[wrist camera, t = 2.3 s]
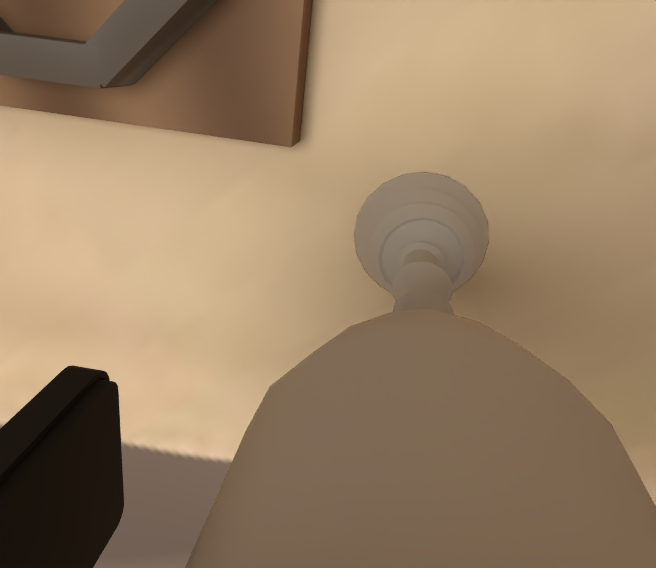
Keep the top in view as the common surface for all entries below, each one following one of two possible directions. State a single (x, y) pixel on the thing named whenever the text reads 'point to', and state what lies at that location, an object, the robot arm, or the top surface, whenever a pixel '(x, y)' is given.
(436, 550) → the chalice
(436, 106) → the top surface
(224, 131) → the display stand
